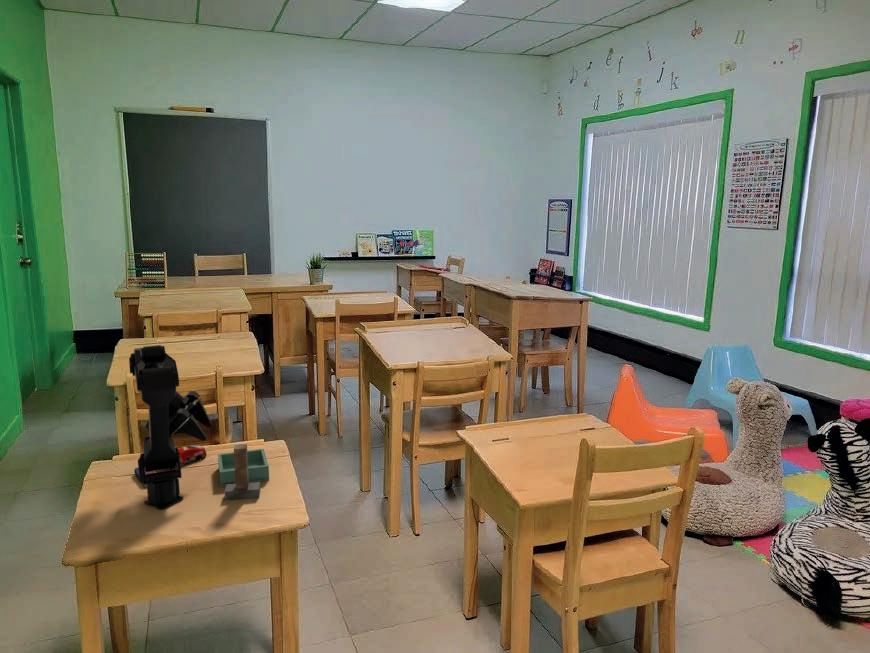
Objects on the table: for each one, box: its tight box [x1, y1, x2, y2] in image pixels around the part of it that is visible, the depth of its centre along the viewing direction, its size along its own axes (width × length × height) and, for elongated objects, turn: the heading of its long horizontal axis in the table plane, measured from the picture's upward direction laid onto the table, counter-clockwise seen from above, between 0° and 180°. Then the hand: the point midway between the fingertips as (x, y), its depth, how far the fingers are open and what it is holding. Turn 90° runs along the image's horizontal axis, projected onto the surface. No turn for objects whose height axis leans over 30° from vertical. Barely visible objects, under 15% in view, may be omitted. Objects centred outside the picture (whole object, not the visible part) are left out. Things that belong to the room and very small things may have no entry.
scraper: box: [224, 443, 261, 502], centre depth 158 cm, size 8×4×13 cm, turn 101°
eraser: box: [133, 467, 155, 489], centre depth 167 cm, size 11×4×2 cm, turn 38°
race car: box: [165, 445, 208, 471], centre depth 178 cm, size 13×5×4 cm, turn 138°
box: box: [217, 448, 270, 488], centre depth 171 cm, size 12×12×4 cm
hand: (208, 432), depth 166 cm, fingers open, 9 cm apart
